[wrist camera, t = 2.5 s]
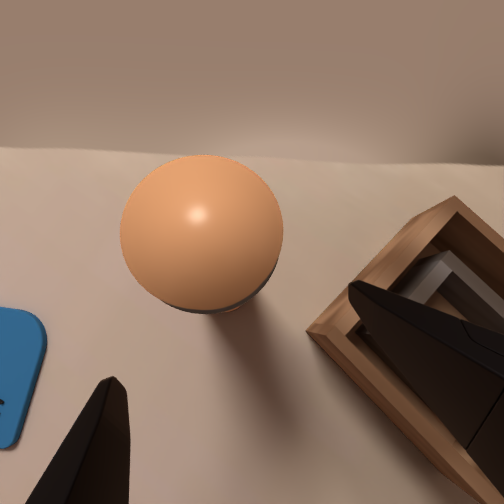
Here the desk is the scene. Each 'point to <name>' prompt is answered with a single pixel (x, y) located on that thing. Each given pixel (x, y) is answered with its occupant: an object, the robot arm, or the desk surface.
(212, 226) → the orange round-topped cylinder
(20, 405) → the handheld gaming device
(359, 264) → the desk surface
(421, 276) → the walled box
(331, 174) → the desk surface
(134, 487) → the desk surface
